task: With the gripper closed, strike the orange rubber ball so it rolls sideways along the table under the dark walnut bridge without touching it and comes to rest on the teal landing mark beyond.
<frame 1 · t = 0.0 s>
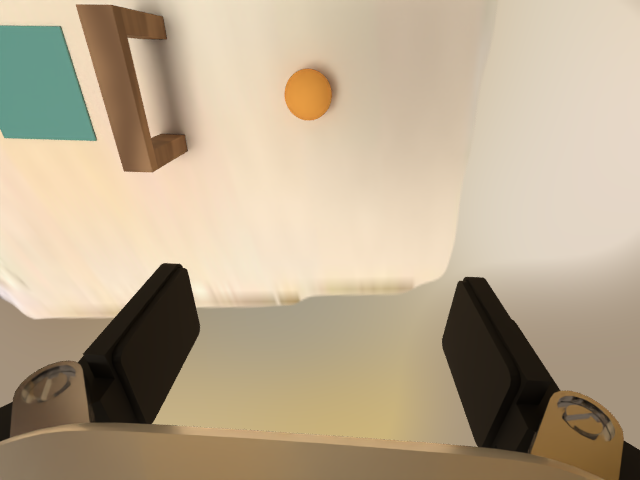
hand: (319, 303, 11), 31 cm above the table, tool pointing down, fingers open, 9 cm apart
landing mark: (31, 86, 38), on the table
ball: (308, 95, 34), on the table
bridge: (163, 89, 37), on the table
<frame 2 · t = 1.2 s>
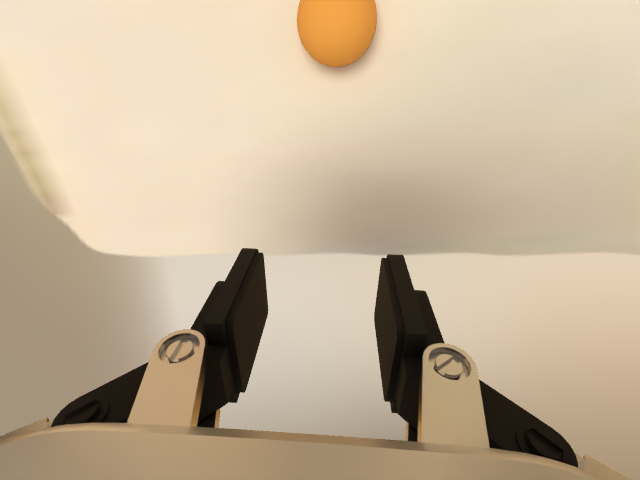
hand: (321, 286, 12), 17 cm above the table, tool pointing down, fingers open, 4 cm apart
ball: (336, 21, 20), on the table
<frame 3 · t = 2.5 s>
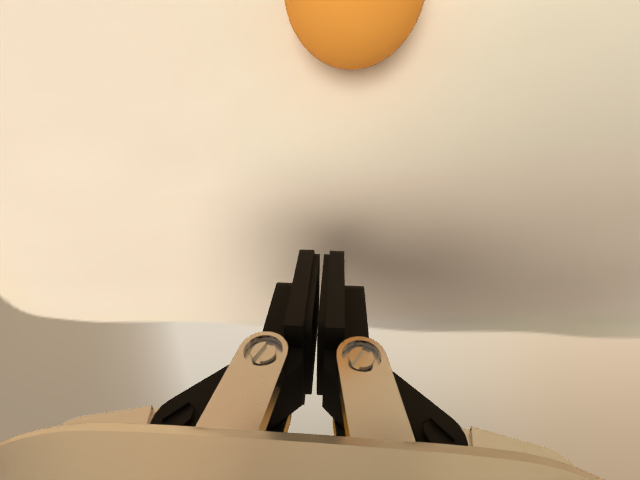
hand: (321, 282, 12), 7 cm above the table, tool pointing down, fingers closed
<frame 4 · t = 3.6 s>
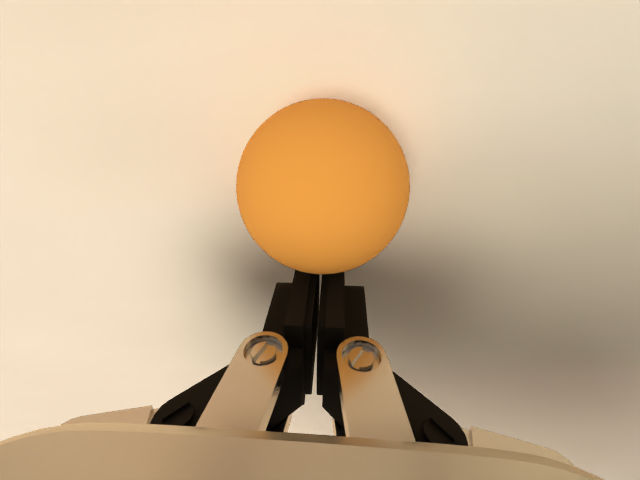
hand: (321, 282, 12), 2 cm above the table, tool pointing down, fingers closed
ball: (322, 190, 10), on the table
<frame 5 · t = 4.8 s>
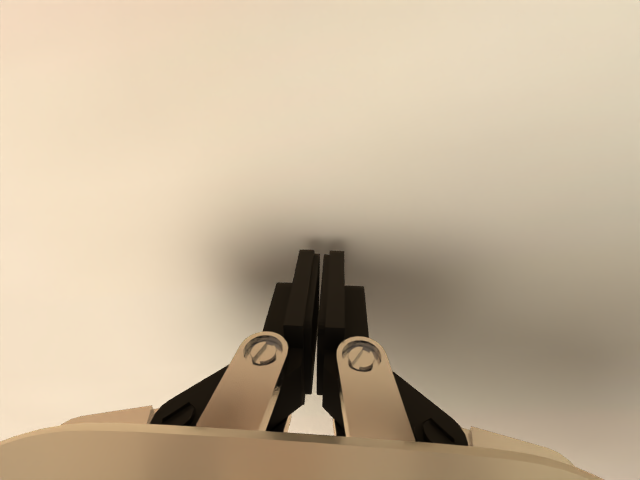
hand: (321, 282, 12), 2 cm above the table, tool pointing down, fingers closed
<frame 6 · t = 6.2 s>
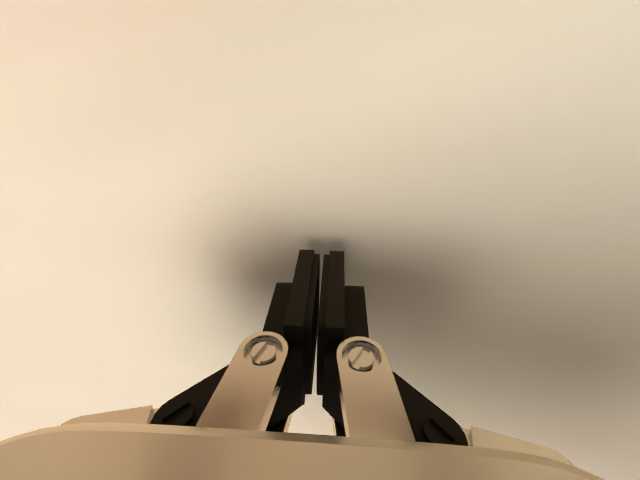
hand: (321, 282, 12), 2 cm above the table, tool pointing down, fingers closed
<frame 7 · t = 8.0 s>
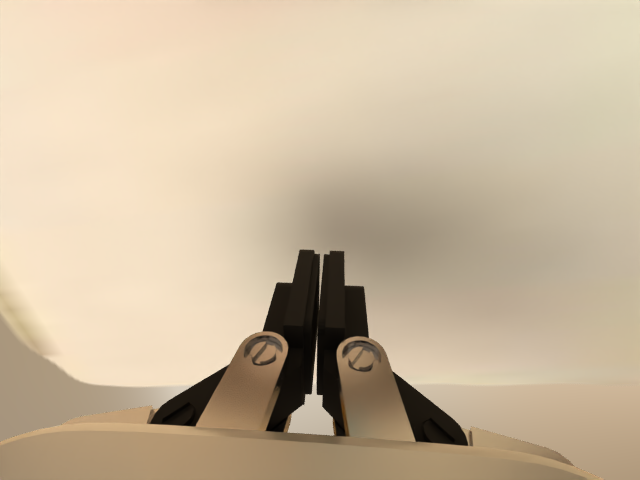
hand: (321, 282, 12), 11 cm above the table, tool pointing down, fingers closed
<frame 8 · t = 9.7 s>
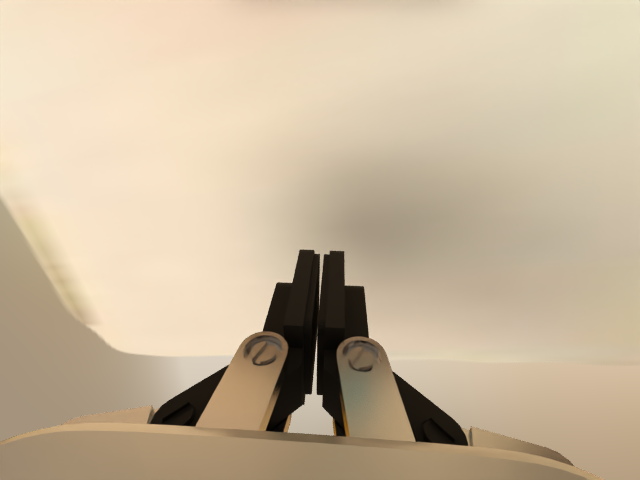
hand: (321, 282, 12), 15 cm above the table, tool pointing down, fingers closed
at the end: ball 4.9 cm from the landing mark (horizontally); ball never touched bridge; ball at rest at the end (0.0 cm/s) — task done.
